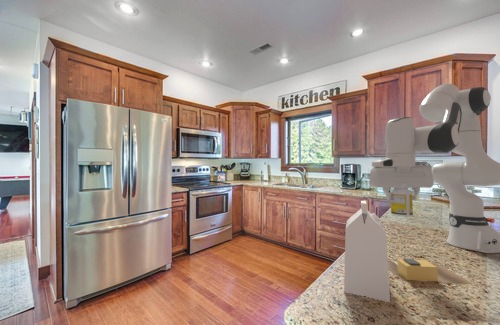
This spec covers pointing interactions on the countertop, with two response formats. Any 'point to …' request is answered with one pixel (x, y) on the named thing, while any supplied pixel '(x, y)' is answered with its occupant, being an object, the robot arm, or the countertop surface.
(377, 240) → the milk
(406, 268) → the yellow block
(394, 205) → the pill bottle
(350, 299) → the countertop surface
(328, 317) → the countertop surface
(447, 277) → the board
